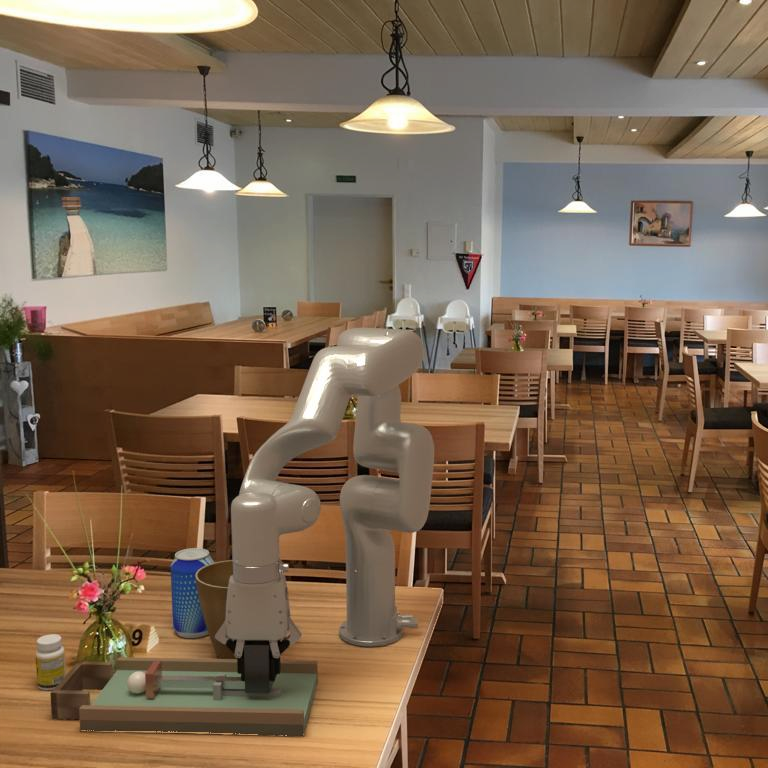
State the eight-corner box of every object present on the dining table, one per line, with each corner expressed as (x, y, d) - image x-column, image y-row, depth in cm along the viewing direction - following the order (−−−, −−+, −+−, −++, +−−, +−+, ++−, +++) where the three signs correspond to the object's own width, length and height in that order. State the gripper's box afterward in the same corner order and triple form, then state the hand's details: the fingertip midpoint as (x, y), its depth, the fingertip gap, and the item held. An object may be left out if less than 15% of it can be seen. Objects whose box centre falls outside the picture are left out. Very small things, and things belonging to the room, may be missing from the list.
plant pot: (216, 680, 154) (213, 593, 152) (186, 649, 166) (183, 567, 164) (292, 659, 162) (291, 576, 160) (259, 631, 174) (257, 553, 172)
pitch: (317, 681, 153) (317, 656, 153) (303, 736, 136) (302, 708, 135) (120, 677, 155) (119, 652, 155) (80, 731, 137) (78, 704, 137)
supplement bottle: (42, 678, 155) (39, 633, 154) (69, 677, 155) (67, 632, 154) (33, 692, 150) (30, 645, 149) (62, 690, 151) (59, 644, 149)
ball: (155, 680, 147) (143, 663, 147) (149, 690, 144) (137, 673, 143) (139, 691, 148) (127, 674, 147) (132, 701, 144) (119, 684, 144)
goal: (113, 686, 152) (112, 662, 151) (88, 720, 141) (87, 694, 140) (79, 686, 152) (78, 661, 152) (51, 719, 141) (50, 693, 140)
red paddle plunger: (274, 686, 147) (273, 633, 146) (269, 700, 142) (268, 646, 141) (155, 684, 148) (153, 632, 147) (146, 698, 143) (143, 644, 142)
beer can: (221, 623, 178) (219, 547, 176) (209, 640, 170) (206, 561, 168) (181, 621, 179) (178, 545, 177) (167, 639, 171) (163, 560, 169)
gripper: (310, 562, 145) (312, 667, 148) (209, 562, 146) (213, 666, 148) (305, 578, 138) (307, 689, 140) (199, 578, 138) (203, 688, 141)
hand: (259, 676), depth 144 cm, fingers closed on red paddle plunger, 4 cm apart
